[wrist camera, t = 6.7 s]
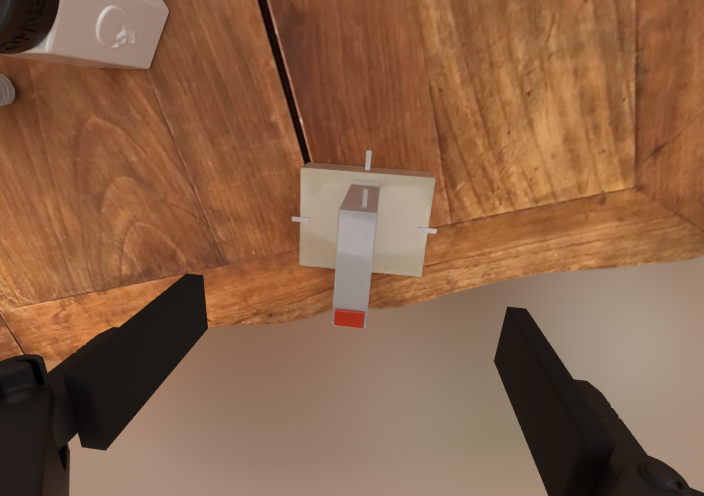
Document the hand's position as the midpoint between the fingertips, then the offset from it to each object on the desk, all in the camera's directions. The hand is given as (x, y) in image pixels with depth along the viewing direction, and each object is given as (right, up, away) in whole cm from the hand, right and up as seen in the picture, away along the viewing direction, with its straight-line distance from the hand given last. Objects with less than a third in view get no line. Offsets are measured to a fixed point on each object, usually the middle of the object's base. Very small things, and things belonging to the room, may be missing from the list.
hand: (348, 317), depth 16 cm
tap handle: (+1, +5, +13) cm, 13 cm away
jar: (-18, +21, +12) cm, 30 cm away
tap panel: (+1, +6, +15) cm, 17 cm away
